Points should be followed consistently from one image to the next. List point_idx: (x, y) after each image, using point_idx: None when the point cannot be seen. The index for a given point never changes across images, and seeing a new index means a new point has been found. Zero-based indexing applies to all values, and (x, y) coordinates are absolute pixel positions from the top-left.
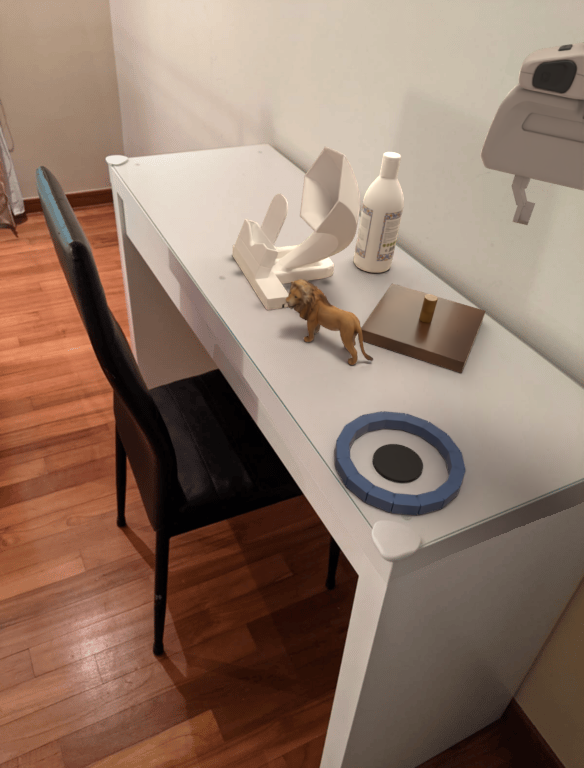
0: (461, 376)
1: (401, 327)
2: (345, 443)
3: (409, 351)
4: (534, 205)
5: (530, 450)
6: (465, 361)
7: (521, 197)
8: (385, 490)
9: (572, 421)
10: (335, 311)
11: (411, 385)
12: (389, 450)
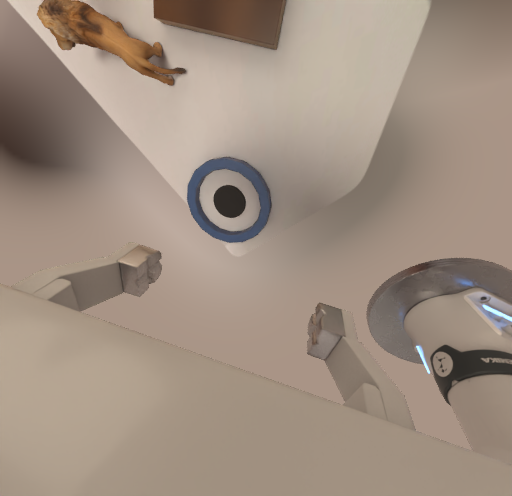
0: (276, 56)
1: None
2: (192, 202)
3: (215, 34)
4: (137, 279)
5: (328, 162)
6: (274, 41)
7: (98, 301)
8: (223, 234)
9: (388, 102)
10: (110, 44)
11: (228, 98)
12: (222, 193)
